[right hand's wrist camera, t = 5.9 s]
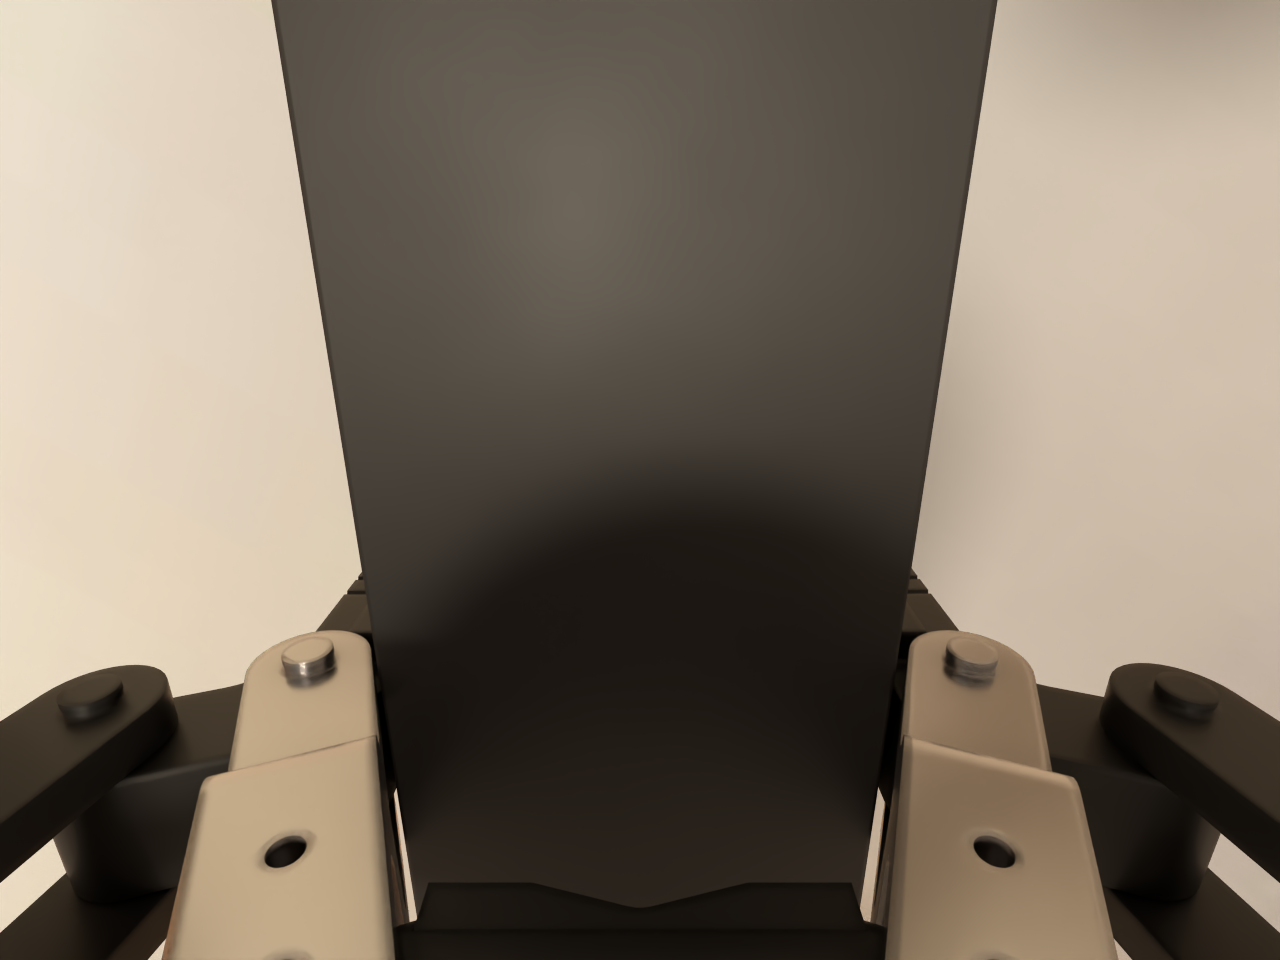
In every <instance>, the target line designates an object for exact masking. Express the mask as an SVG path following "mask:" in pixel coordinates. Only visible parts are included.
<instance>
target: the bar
mask: <svg viewBox="0 0 1280 960" xmlns="http://www.w3.org/2000/svg"><path fill="white" fill-rule="evenodd" d="M271 2H272V8H273V14H274V20H275V27H276V33H277V39H278V46H279V52H280V58H281V64H282V71H283V77H284V83H285V90H286V96H287V102H288V108H289V115H290V121H291V127H292V134H293V140H294V146H295V152H296V159H297V165H298V171H299V178H300V184H301V190H302V196H303V203H304V209H305V215H306V222H307V228H308V234H309V240H310V247H311V253H312V259H313V266H314V272H315V278H316V284H317V291H318V297H319V303H320V310H321V316H322V322H323V328H324V335H325V341H326V347H327V354H328V360H329V366H330V372H331V379H332V385H333V391H334V398H335V404H336V410H337V416H338V423H339V429H340V435H341V442H342V448H343V454H344V460H345V467H346V473H347V479H348V486H349V492H350V498H351V504H352V511H353V517H354V523H355V530H356V536H357V542H358V548H359V555H360V561H361V567H362V574H363V580H364V586H365V592H366V599H367V605H368V611H369V618H370V624H371V630H372V636H373V643H374V649H375V655H376V662H377V668H378V674H379V680H380V687H381V693H382V699H383V706H384V712H385V718H386V724H387V731H388V737H389V743H390V750H391V756H392V762H393V768H394V775H395V781H396V787H397V794H398V800H399V806H400V812H401V819H402V825H403V831H404V838H405V844H406V850H407V856H408V863H409V869H410V875H411V882H412V888H413V894H414V900H415V907H416V913H417V917H418V914H419V911H420V908H421V904H422V901H423V898H424V895H425V892H426V889H427V885H428V882H532V883H536V884H540V885H544V886H549V887H553V888H557V889H561V890H565V891H569V892H573V893H577V894H581V895H585V896H589V897H593V898H597V899H601V900H605V901H609V902H613V903H617V904H621V905H625V906H630V907H636V908H644V907H650V906H655V905H659V904H663V903H667V902H671V901H675V900H679V899H683V898H687V897H691V896H695V895H699V894H703V893H707V892H711V891H715V890H719V889H723V888H727V887H731V886H736V885H740V884H744V883H748V882H852V886H853V889H854V892H855V895H856V898H857V901H858V904H859V908H860V903H861V897H862V890H863V884H864V877H865V871H866V864H867V857H868V851H869V844H870V838H871V831H872V824H873V818H874V811H875V805H876V798H877V791H878V785H879V778H880V772H881V765H882V758H883V752H884V745H885V739H886V732H887V725H888V719H889V712H890V706H891V699H892V692H893V686H894V679H895V673H896V666H897V659H898V653H899V646H900V640H901V633H902V626H903V620H904V613H905V607H906V600H907V593H908V587H909V580H910V574H911V567H912V560H913V554H914V547H915V541H916V534H917V527H918V521H919V514H920V508H921V501H922V494H923V488H924V481H925V475H926V468H927V461H928V455H929V448H930V442H931V435H932V428H933V422H934V415H935V409H936V402H937V395H938V389H939V382H940V376H941V369H942V362H943V356H944V349H945V343H946V336H947V329H948V323H949V316H950V310H951V303H952V296H953V290H954V283H955V277H956V270H957V263H958V257H959V250H960V244H961V237H962V230H963V224H964V217H965V211H966V204H967V197H968V191H969V184H970V178H971V171H972V164H973V158H974V151H975V145H976V138H977V131H978V125H979V118H980V112H981V105H982V98H983V92H984V85H985V79H986V72H987V65H988V59H989V52H990V46H991V39H992V32H993V26H994V19H995V13H996V6H997V0H271Z"/></svg>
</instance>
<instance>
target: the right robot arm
mask: <svg viewBox="0 0 1280 960" xmlns="http://www.w3.org/2000/svg"><path fill="white" fill-rule="evenodd" d="M878 787H879V789H880V792H881V794H882V797H883V799H884V801H885V804H884V810H883V817H882V824H881V833H880V842H879V851H878V860H877V869H876V878H875V887H874V896H873V904H872V913H871V922H867V921H864V920H863V917H862V914H861V911H860V908H859V904H858V901H857V898H856V895H855V892H854V889H853V886H852V882H748V883H744V884H740V885H736V886H731V887H727V888H723V889H719V890H715V891H711V892H707V893H703V894H699V895H695V896H691V897H687V898H683V899H679V900H675V901H671V902H667V903H663V904H659V905H655V906H650V907H644V908H636V907H630V906H625V905H621V904H617V903H613V902H609V901H605V900H601V899H597V898H593V897H589V896H585V895H581V894H577V893H573V892H569V891H565V890H561V889H557V888H553V887H549V886H544V885H540V884H536V883H532V882H428V885H427V889H426V892H425V895H424V898H423V901H422V904H421V908H420V911H419V914H418V917H417V920H416V921H413V922H409V913H408V904H407V895H406V887H405V878H404V869H403V860H402V851H401V842H400V833H399V824H398V817H397V810H396V804H395V798H394V792H395V790H396V788H397V787H396V781H395V775H394V768H393V762H392V756H391V750H390V743H389V737H388V731H387V724H386V718H385V712H384V706H383V699H382V693H381V687H380V680H379V674H378V668H377V662H376V655H375V649H374V643H373V636H372V630H371V624H370V618H369V611H368V605H367V599H366V592H365V586H364V580H363V574H362V573H361V574H360V575H359V576H358V580H355V582H354V583H353V584H352V586H351V587H350V588H349V589H348V591H347V595H344V596H343V597H342V598H341V600H340V601H339V602H338V604H337V605H336V606H335V607H334V609H333V610H332V611H331V613H330V614H329V615H328V616H327V618H326V619H325V620H324V622H323V623H322V624H321V626H320V627H319V628H318V629H317V631H316V632H311V633H307V634H303V635H299V636H296V637H293V638H290V639H288V640H285V641H283V642H280V643H278V644H277V645H275V646H273V647H271V648H269V649H268V650H266V651H265V652H263V653H262V654H261V655H259V656H258V657H257V658H256V659H255V660H254V661H253V662H252V663H251V665H250V666H249V668H248V669H247V672H246V675H245V680H244V683H242V684H239V685H235V686H231V687H227V688H222V689H217V690H212V691H206V692H201V693H196V694H191V695H185V696H180V697H175V698H173V697H172V693H171V690H170V686H169V683H168V679H167V677H166V675H165V673H163V672H162V671H161V670H159V669H157V668H155V667H150V666H145V665H126V666H118V667H112V668H107V669H102V670H98V671H95V672H91V673H88V674H85V675H82V676H79V677H77V678H74V679H72V680H69V681H67V682H65V683H63V684H61V685H59V686H57V687H55V688H53V689H51V690H49V691H48V692H46V693H44V694H43V695H41V696H39V697H38V698H36V699H35V700H33V701H32V702H30V703H28V704H27V705H25V706H24V707H22V708H21V709H19V710H18V711H16V712H14V713H13V714H11V715H10V716H8V717H7V718H5V719H4V720H2V721H0V883H1V882H2V881H3V880H4V879H5V878H7V877H8V876H9V875H10V874H11V873H12V872H14V871H15V870H16V869H17V868H18V867H20V866H21V865H22V864H23V863H24V862H25V861H27V860H28V859H29V858H30V857H31V856H33V855H34V854H35V853H36V852H37V851H38V850H40V849H41V848H42V847H43V846H44V845H46V844H47V843H48V842H49V841H50V840H51V839H54V842H55V845H56V847H57V850H58V852H59V855H60V857H61V860H62V862H63V865H64V868H65V870H66V874H65V875H63V876H62V877H61V878H60V879H59V880H58V881H57V882H56V883H55V884H54V885H52V886H51V887H50V888H49V889H48V890H47V891H46V892H45V893H44V894H43V895H41V896H40V897H39V898H38V899H37V900H36V901H35V902H34V903H33V904H32V905H30V906H29V907H28V908H27V909H26V910H25V911H24V912H23V913H22V914H21V915H19V916H18V917H17V918H16V919H15V920H14V921H13V922H12V923H11V924H10V925H8V926H7V927H6V928H5V929H4V930H3V931H2V932H1V933H0V960H148V959H149V958H150V956H151V955H152V954H153V953H154V952H155V951H156V949H157V948H158V947H159V946H160V945H161V944H162V942H163V941H164V940H165V939H166V942H165V947H164V951H163V956H162V960H1118V956H1117V951H1116V947H1115V942H1114V939H1115V940H1116V941H1117V942H1118V944H1119V945H1120V946H1121V947H1122V948H1123V949H1124V951H1125V952H1126V953H1127V954H1128V955H1129V956H1130V958H1131V959H1132V960H1280V933H1279V932H1278V931H1277V930H1276V929H1275V928H1274V927H1273V926H1272V925H1270V924H1269V923H1268V922H1267V921H1266V920H1265V919H1264V918H1263V917H1262V916H1261V915H1259V914H1258V913H1257V912H1256V911H1255V910H1254V909H1253V908H1252V907H1251V906H1250V905H1248V904H1247V903H1246V902H1245V901H1244V900H1243V899H1242V898H1241V897H1240V896H1239V895H1237V894H1236V893H1235V892H1234V891H1233V890H1232V889H1231V888H1230V887H1229V886H1228V885H1226V884H1225V883H1224V882H1223V881H1222V880H1221V879H1220V878H1219V877H1218V876H1217V875H1215V874H1214V873H1213V872H1212V871H1211V870H1210V869H1209V868H1208V865H1209V862H1210V859H1211V857H1212V854H1213V852H1214V849H1215V846H1216V844H1217V841H1218V839H1219V836H1220V833H1221V834H1223V835H1224V836H1225V837H1226V838H1227V839H1229V840H1230V841H1231V842H1232V843H1233V844H1234V845H1236V846H1237V847H1238V848H1239V849H1240V850H1242V851H1243V852H1244V853H1245V854H1246V855H1247V856H1249V857H1250V858H1251V859H1252V860H1253V861H1255V862H1256V863H1257V864H1258V865H1259V866H1260V867H1262V868H1263V869H1264V870H1265V871H1266V872H1268V873H1269V874H1270V875H1271V876H1272V877H1273V878H1275V879H1276V880H1277V881H1278V882H1279V883H1280V721H1278V720H1276V719H1275V718H1273V717H1272V716H1270V715H1269V714H1267V713H1266V712H1264V711H1262V710H1261V709H1259V708H1258V707H1256V706H1255V705H1253V704H1252V703H1250V702H1248V701H1247V700H1245V699H1244V698H1242V697H1241V696H1239V695H1237V694H1236V693H1234V692H1233V691H1231V690H1229V689H1228V688H1226V687H1224V686H1222V685H1220V684H1218V683H1216V682H1214V681H1212V680H1210V679H1207V678H1205V677H1203V676H1200V675H1198V674H1195V673H1192V672H1189V671H1186V670H1182V669H1178V668H1175V667H1170V666H1165V665H1159V664H1151V663H1134V664H1127V665H1123V666H1121V667H1118V668H1116V669H1115V670H1114V671H1113V672H1112V674H1111V675H1110V678H1109V682H1108V685H1107V689H1106V692H1105V696H1104V697H1100V696H1095V695H1090V694H1085V693H1079V692H1074V691H1069V690H1064V689H1059V688H1053V687H1048V686H1044V685H1040V684H1036V680H1035V675H1034V672H1033V669H1032V668H1031V666H1030V665H1029V663H1028V662H1027V661H1026V660H1025V659H1024V658H1023V657H1022V656H1021V655H1019V654H1018V653H1017V652H1015V651H1014V650H1012V649H1011V648H1009V647H1007V646H1005V645H1003V644H1002V643H1000V642H997V641H995V640H992V639H990V638H987V637H984V636H981V635H977V634H973V633H969V632H962V631H959V630H958V629H957V627H956V626H955V625H954V623H953V622H952V621H951V619H950V618H949V617H948V616H947V614H946V613H945V612H944V610H943V609H942V608H941V606H940V605H939V604H938V602H937V601H936V600H935V598H934V597H933V596H932V595H931V594H928V589H927V588H926V587H925V585H924V584H923V583H922V581H921V580H920V579H917V575H916V574H915V572H914V571H913V570H912V568H911V574H910V580H909V587H908V593H907V600H906V607H905V613H904V620H903V626H902V633H901V640H900V646H899V653H898V659H897V666H896V673H895V679H894V686H893V692H892V699H891V706H890V712H889V719H888V725H887V732H886V739H885V745H884V752H883V758H882V765H881V772H880V778H879V785H878Z"/></svg>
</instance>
